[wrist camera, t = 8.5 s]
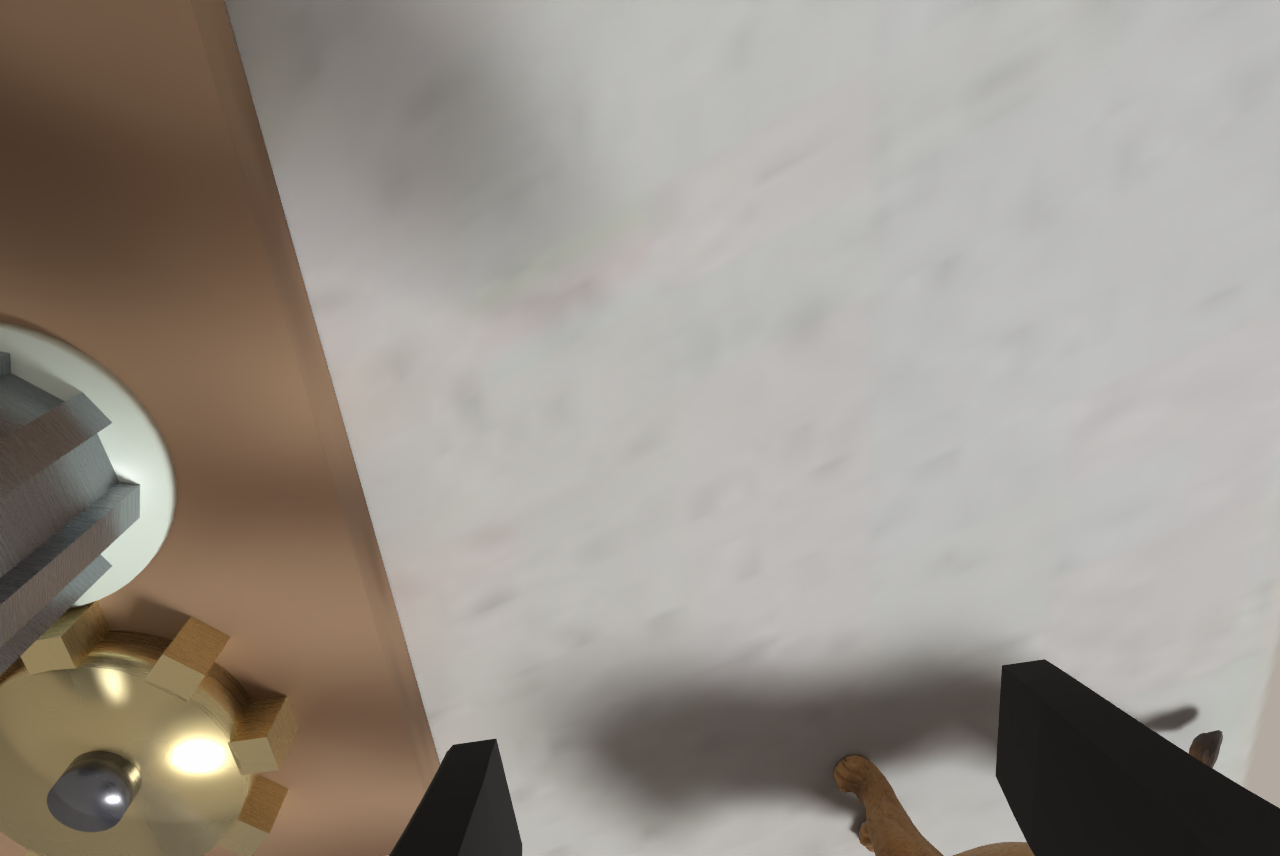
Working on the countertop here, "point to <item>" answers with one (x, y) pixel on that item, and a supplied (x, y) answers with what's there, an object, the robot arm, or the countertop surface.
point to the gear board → (189, 470)
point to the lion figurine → (895, 834)
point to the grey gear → (52, 507)
